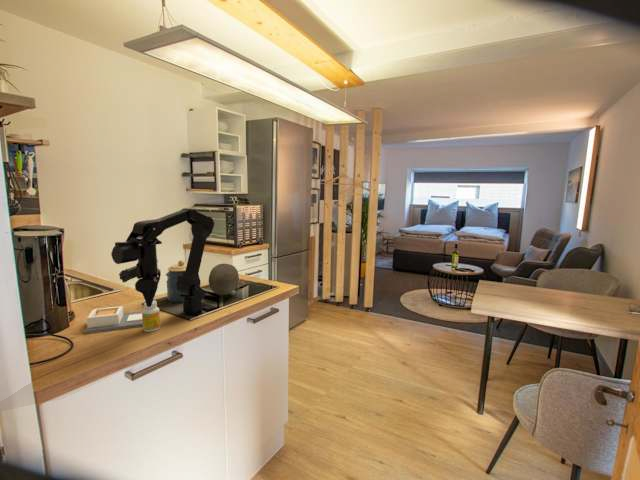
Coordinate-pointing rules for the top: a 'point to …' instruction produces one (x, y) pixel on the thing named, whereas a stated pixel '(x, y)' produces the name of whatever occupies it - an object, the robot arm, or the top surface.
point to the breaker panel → (111, 320)
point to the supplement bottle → (151, 317)
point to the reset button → (106, 312)
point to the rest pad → (134, 317)
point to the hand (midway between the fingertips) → (150, 302)
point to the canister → (175, 281)
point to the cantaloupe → (223, 279)
